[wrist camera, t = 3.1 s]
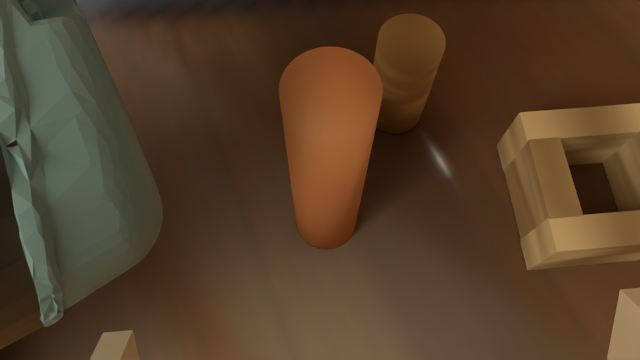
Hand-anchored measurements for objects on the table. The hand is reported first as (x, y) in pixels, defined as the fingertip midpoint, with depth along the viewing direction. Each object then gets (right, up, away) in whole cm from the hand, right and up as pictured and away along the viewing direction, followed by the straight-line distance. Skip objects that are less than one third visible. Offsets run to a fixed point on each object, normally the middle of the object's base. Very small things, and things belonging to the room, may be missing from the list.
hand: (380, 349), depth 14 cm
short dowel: (+3, +9, +19) cm, 21 cm away
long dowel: (-1, +2, +16) cm, 16 cm away
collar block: (+14, +3, +17) cm, 22 cm away
